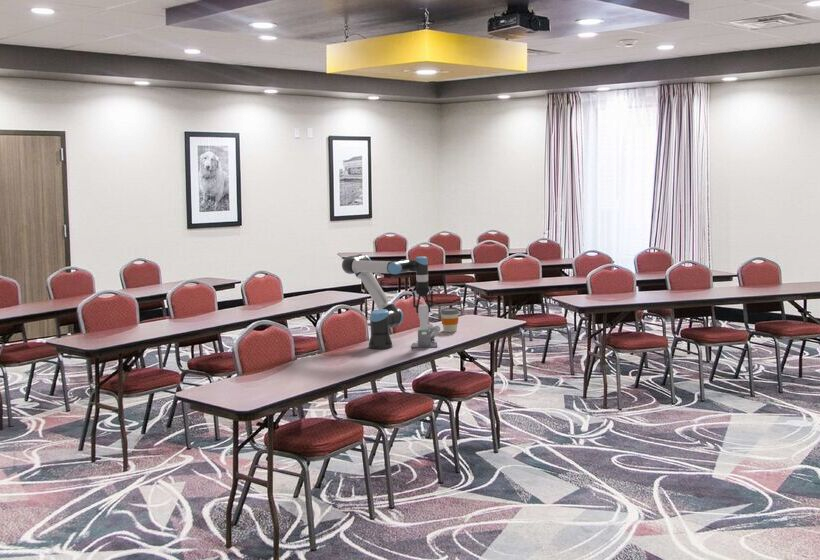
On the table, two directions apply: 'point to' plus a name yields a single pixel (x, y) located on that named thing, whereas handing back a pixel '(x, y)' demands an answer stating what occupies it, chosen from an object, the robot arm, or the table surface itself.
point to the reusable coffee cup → (449, 319)
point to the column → (423, 318)
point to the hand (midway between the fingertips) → (423, 317)
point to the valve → (433, 330)
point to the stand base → (424, 340)
